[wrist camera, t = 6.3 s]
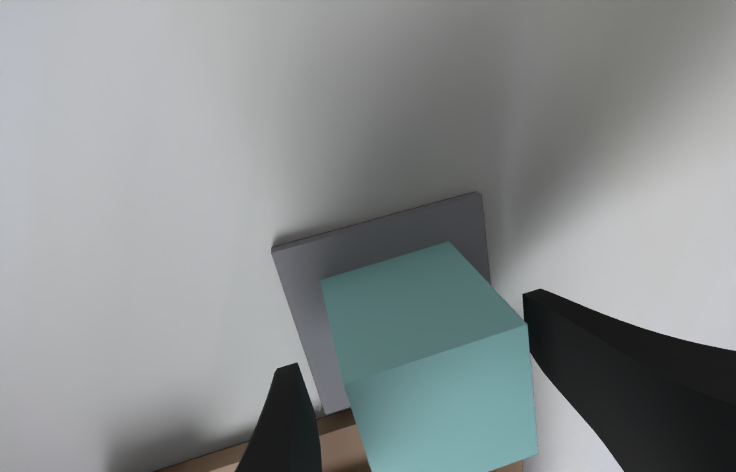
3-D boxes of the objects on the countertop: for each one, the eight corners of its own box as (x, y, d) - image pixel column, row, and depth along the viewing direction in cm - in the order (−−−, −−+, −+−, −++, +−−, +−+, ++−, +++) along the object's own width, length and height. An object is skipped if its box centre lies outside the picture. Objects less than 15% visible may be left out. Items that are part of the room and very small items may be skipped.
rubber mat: (476, 191, 15) (481, 194, 15) (493, 353, 18) (498, 360, 18) (271, 247, 14) (271, 253, 14) (324, 407, 17) (325, 414, 17)
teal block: (449, 241, 15) (527, 324, 10) (466, 345, 17) (538, 453, 12) (319, 280, 15) (343, 384, 10) (351, 382, 16) (383, 509, 12)
